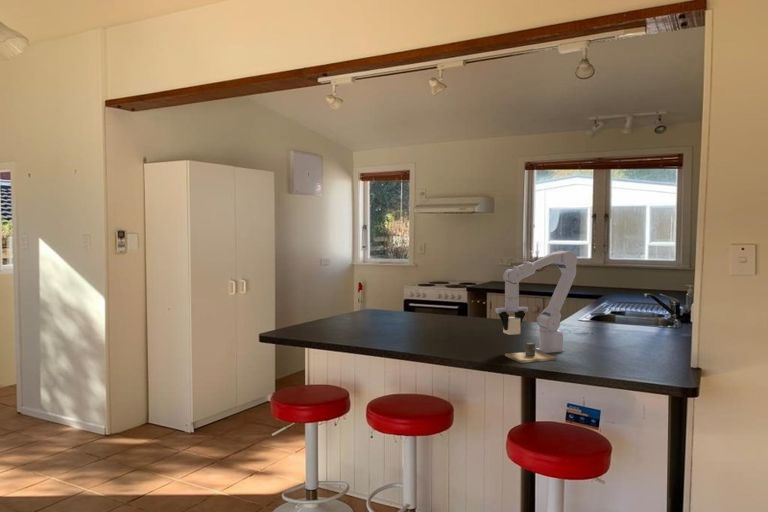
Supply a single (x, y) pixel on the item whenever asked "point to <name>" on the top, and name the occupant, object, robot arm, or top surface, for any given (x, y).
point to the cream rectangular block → (513, 326)
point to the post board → (531, 359)
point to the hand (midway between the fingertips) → (511, 329)
